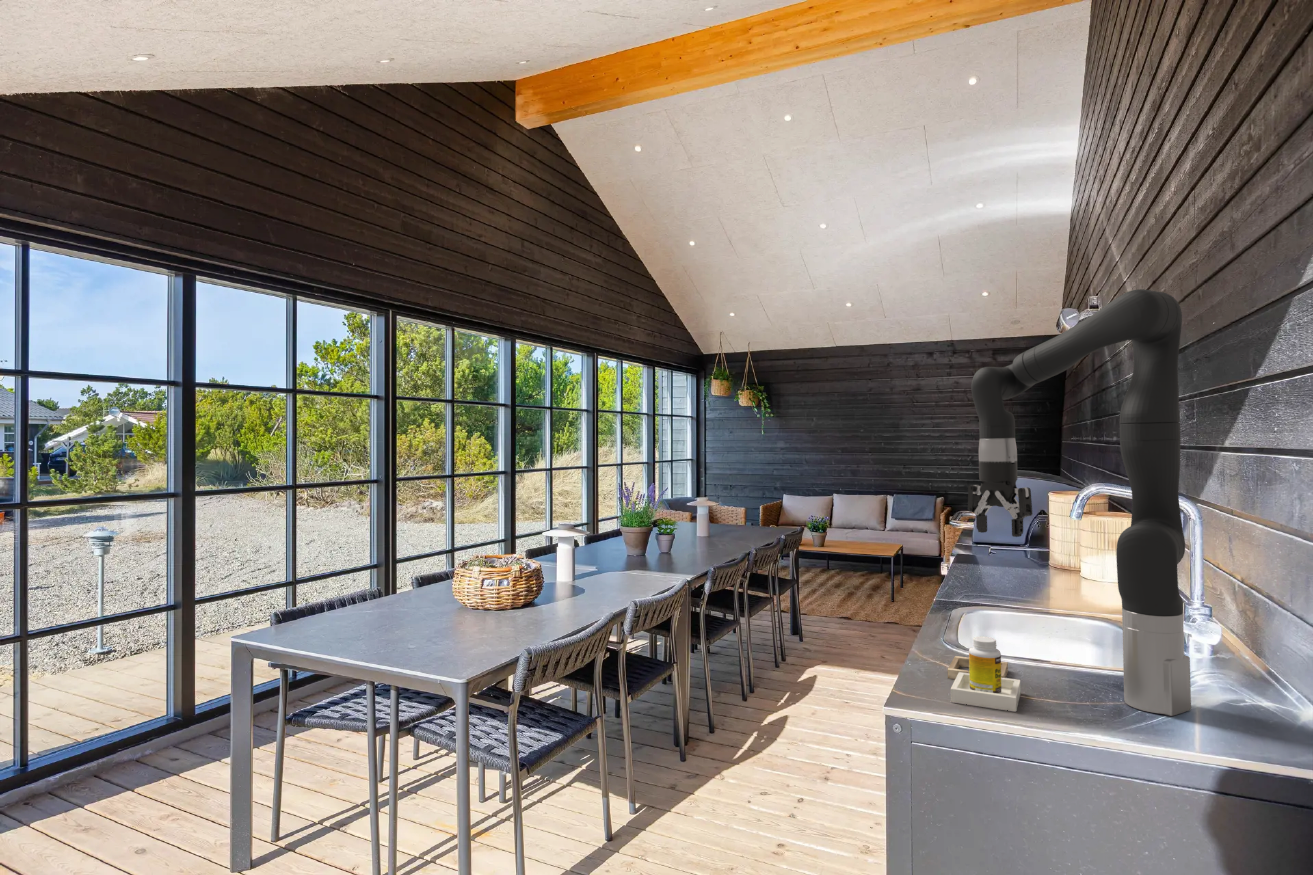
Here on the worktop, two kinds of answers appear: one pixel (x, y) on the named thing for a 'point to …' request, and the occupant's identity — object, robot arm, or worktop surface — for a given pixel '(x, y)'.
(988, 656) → the supplement bottle
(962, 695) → the parts tray
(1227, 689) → the worktop surface
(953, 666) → the square wooden frame
